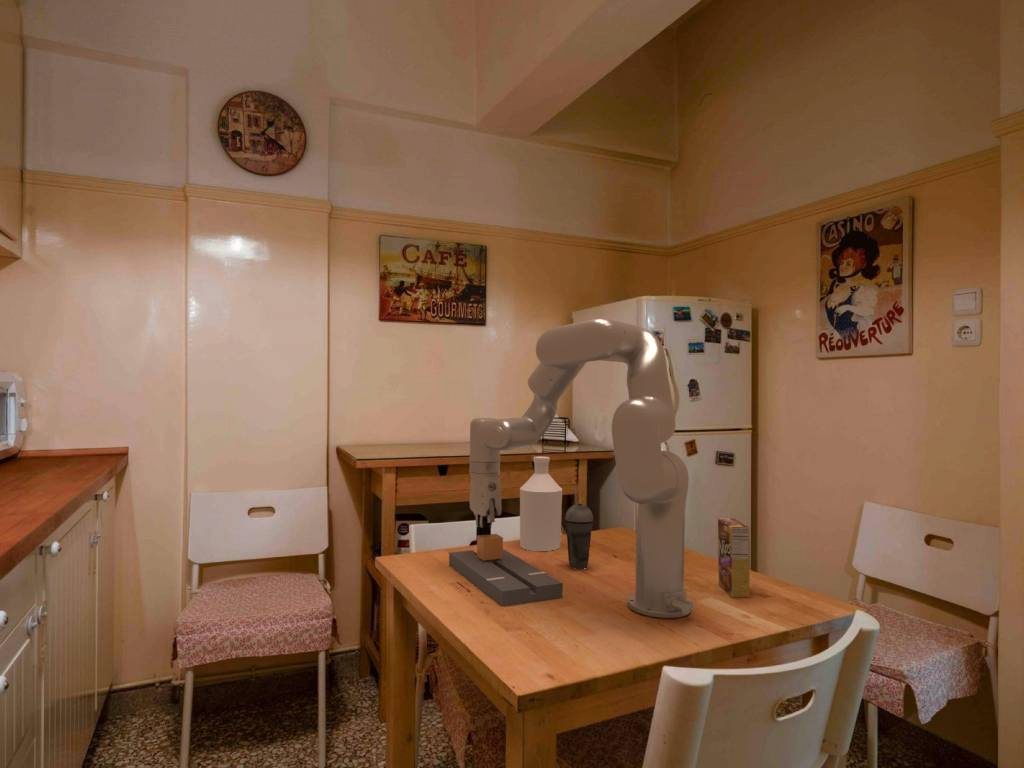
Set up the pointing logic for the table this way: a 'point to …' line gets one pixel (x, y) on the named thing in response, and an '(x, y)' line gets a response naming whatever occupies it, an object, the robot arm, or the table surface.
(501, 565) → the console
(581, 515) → the beverage cup
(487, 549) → the slider tab
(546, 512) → the bottle
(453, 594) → the table surface
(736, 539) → the candy box
